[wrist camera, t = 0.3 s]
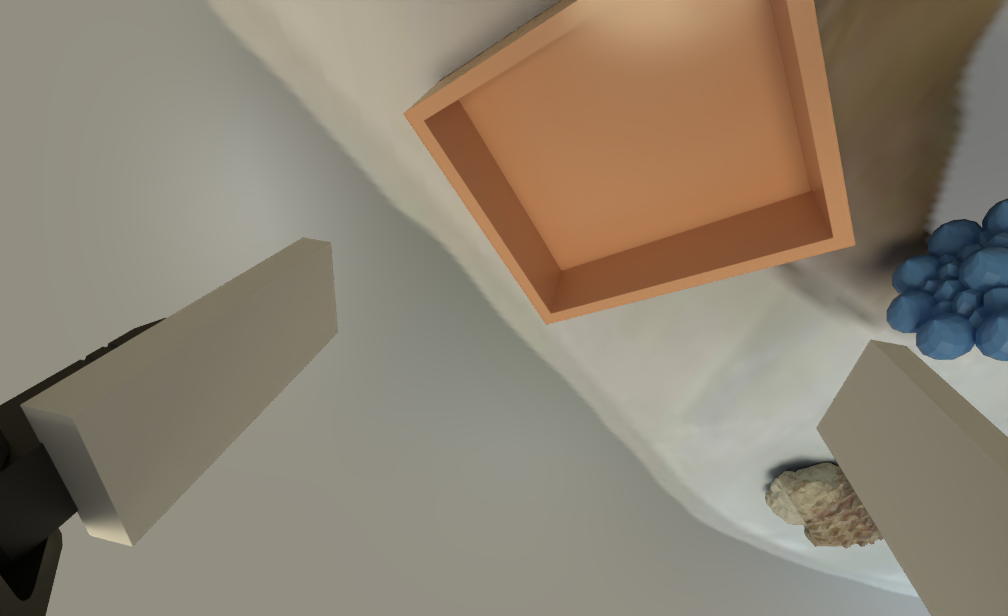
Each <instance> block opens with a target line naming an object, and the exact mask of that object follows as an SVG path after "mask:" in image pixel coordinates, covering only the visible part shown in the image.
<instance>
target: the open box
mask: <svg viewBox="0 0 1008 616" xmlns="http://www.w3.org/2000/svg"><path fill="white" fill-rule="evenodd" d="M404 116H405V117H406V119H407V120H408V122H409V123H410V125H411V126H412V127H413V129H414V130H415V132H416V133H417V135H418V136H419V138H420V139H421V141H422V142H423V144H424V145H425V147H426V148H427V150H428V151H429V153H430V154H431V156H432V157H433V158H434V160H435V161H436V163H437V164H438V166H439V167H440V169H441V170H442V172H443V173H444V175H445V176H446V178H447V179H448V181H449V182H450V184H451V185H452V187H453V188H454V189H455V191H456V192H457V194H458V195H459V197H460V198H461V200H462V201H463V203H464V204H465V206H466V207H467V209H468V210H469V212H470V213H471V215H472V216H473V217H474V219H475V220H476V222H477V223H478V225H479V226H480V228H481V229H482V231H483V232H484V234H485V235H486V237H487V238H488V240H489V241H490V243H491V244H492V246H493V247H494V248H495V250H496V251H497V253H498V254H499V256H500V257H501V259H502V260H503V262H504V263H505V265H506V266H507V268H508V269H509V271H510V272H511V274H512V275H513V277H514V278H515V279H516V281H517V282H518V284H519V285H520V287H521V288H522V290H523V291H524V293H525V294H526V296H527V297H528V299H529V300H530V302H531V303H532V305H533V306H534V307H535V309H536V310H537V312H538V313H539V315H540V316H541V318H542V319H543V321H544V322H545V324H550V323H554V322H558V321H562V320H566V319H570V318H574V317H578V316H582V315H585V314H589V313H593V312H597V311H601V310H605V309H609V308H613V307H617V306H620V305H624V304H628V303H632V302H636V301H640V300H644V299H648V298H652V297H655V296H659V295H663V294H667V293H671V292H675V291H679V290H683V289H687V288H690V287H694V286H698V285H702V284H706V283H710V282H714V281H718V280H722V279H725V278H729V277H733V276H737V275H741V274H745V273H749V272H753V271H757V270H761V269H764V268H768V267H772V266H776V265H780V264H784V263H788V262H792V261H796V260H799V259H803V258H807V257H811V256H815V255H819V254H823V253H827V252H831V251H834V250H838V249H842V248H846V247H850V246H854V245H855V241H854V235H853V229H852V223H851V217H850V211H849V206H848V200H847V194H846V188H845V182H844V176H843V170H842V164H841V158H840V153H839V147H838V141H837V135H836V129H835V123H834V117H833V111H832V105H831V100H830V94H829V88H828V82H827V76H826V70H825V64H824V58H823V52H822V47H821V41H820V35H819V29H818V23H817V17H816V11H815V5H814V0H560V1H559V2H557V3H556V4H554V5H553V6H551V7H550V8H548V9H547V10H545V11H544V12H542V13H541V14H539V15H538V16H536V17H535V18H533V19H532V20H530V21H529V22H527V23H526V24H524V25H523V26H521V27H520V28H518V29H517V30H515V31H514V32H512V33H511V34H509V35H508V36H506V37H505V38H503V39H502V40H500V41H499V42H497V43H496V44H494V45H493V46H491V47H490V48H488V49H487V50H485V51H484V52H482V53H481V54H479V55H478V56H476V57H475V58H473V59H472V60H470V61H469V62H467V63H466V64H464V65H463V66H461V67H460V68H458V69H457V70H455V71H454V72H452V73H451V74H449V75H448V76H446V77H445V78H443V79H442V80H440V81H439V82H438V83H437V84H436V85H435V86H434V87H432V88H431V89H430V90H429V91H428V92H427V93H426V94H425V95H424V96H423V97H421V98H420V99H419V100H418V101H417V102H416V103H415V104H414V105H413V106H411V107H410V108H409V109H408V110H407V111H406V112H405V113H404Z"/></svg>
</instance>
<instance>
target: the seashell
mask: <svg viewBox="0 0 1008 616" xmlns="http://www.w3.org/2000/svg"><path fill="white" fill-rule="evenodd" d="M778 477H779V478H775V480H774V481H773V482H772V483H771V486H770V490H768V492H767V493H766V495H765V499H766V503H767V504H768V506H769V507H770V508H772V510H773V512H774V513H775V514H776V515H778V516H779V517H781V518H782V519H783V520H784V521H786V522H787V523H788V524H793V525H804V527H805V530H804V533H805V535H806V537H807V538H808V539H809V540H810V541H811V542H812V543H813V544H814V546H815V547H816V546H843V547H845V548H848V547H850V546H851V545H853V544H859V545H860V546H861V547H862V546H865V544H866V545H867V544H868V542H869V543H870V544H874V541H876V540H877V539H880V540H882V539H883V536H882V535H881V533H880V531H879V530H878V528H877V526H876V525H875V523H874V522H873V520H872V518H871V517H870V515H869V513H868V512H867V510H866V509H865V507H864V505H863V504H862V502H861V500H860V499H859V497H858V495H857V494H856V492H855V491H854V489H853V487H852V486H851V484H850V482H849V481H848V479H847V478H846V476H845V474H844V473H843V471H842V469H841V468H840V466H836V465H833V464H832V463H821V464H818V465H813V466H810V467H808V468H804V469H799V470H797V472H796V473H795V472H792V471H785V472H783V474H782V475H779V476H778Z"/></svg>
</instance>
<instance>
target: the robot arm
mask: <svg viewBox="0 0 1008 616" xmlns="http://www.w3.org/2000/svg"><path fill="white" fill-rule="evenodd" d="M337 333H338V327H337V314H336V301H335V288H334V275H333V262H332V249H331V242H326V241H320V240H314V239H309V238H301V239H300V240H298V241H296V242H295V243H293V244H291V245H290V246H288V247H286V248H284V249H283V250H281V251H279V252H278V253H276V254H274V255H273V256H271V257H269V258H268V259H266V260H264V261H263V262H261V263H259V264H257V265H256V266H254V267H252V268H251V269H249V270H247V271H246V272H244V273H242V274H240V275H239V276H237V277H235V278H234V279H232V280H231V281H229V282H227V283H225V284H224V285H222V286H220V287H219V288H217V289H215V290H214V291H212V292H210V293H208V294H207V295H205V296H203V297H202V298H200V299H198V300H197V301H195V302H193V303H191V304H190V305H188V306H186V307H185V308H183V309H182V310H180V311H178V312H176V313H175V314H173V315H171V316H170V317H168V318H163V319H161V320H158V321H155V322H152V323H149V324H146V325H143V326H140V327H137V328H134V329H133V330H131V331H129V332H127V333H126V334H124V335H122V336H121V337H119V338H117V339H115V340H114V341H112V342H110V343H108V346H107V347H101V348H100V349H98V350H96V351H94V352H93V353H91V354H89V355H87V356H86V359H85V360H79V361H77V362H75V363H73V364H72V365H70V366H68V367H67V368H65V369H63V370H61V371H60V372H58V373H56V374H54V375H53V376H51V377H49V378H47V379H46V380H44V381H42V382H40V383H38V384H37V385H35V386H33V387H31V388H30V389H28V390H26V391H24V392H23V393H21V394H19V395H17V396H16V397H14V398H13V399H10V400H9V401H7V402H5V403H4V404H2V405H0V616H45V615H46V611H47V607H48V603H49V599H50V595H51V591H52V586H53V582H54V578H55V574H56V570H57V566H58V562H59V558H60V553H61V549H62V533H61V532H60V530H59V527H60V526H61V525H62V524H63V523H64V522H66V521H67V520H68V519H69V518H70V517H71V516H72V515H74V514H75V513H76V512H78V514H79V516H80V518H81V520H82V522H83V523H84V525H85V527H86V529H87V531H88V533H89V535H90V536H94V537H98V538H102V539H105V540H109V541H113V542H117V543H121V544H125V545H129V546H134V545H135V544H136V543H137V542H138V541H139V540H140V539H141V538H142V537H143V535H144V534H145V533H146V532H147V531H148V530H149V529H150V528H151V527H152V526H153V525H154V524H155V523H156V522H157V521H158V520H159V519H160V518H161V517H162V516H163V515H164V514H165V513H166V511H167V510H168V509H169V508H170V507H171V506H172V505H173V504H174V503H175V502H176V501H177V500H178V499H179V498H180V497H181V496H182V495H183V494H184V493H185V492H186V491H187V490H188V488H189V487H190V486H191V485H192V484H193V483H194V482H195V481H196V480H197V479H198V478H199V477H200V476H201V475H202V474H203V473H204V472H205V471H206V470H207V469H208V468H209V467H210V465H211V464H212V463H213V462H214V461H215V460H216V459H217V458H218V457H219V456H220V455H221V454H222V453H223V452H224V451H225V450H226V449H227V448H228V447H229V446H230V445H231V444H232V443H233V442H234V441H235V439H236V438H237V437H238V436H239V435H240V434H241V433H242V432H243V431H244V430H245V429H246V428H247V427H248V426H249V425H250V424H251V423H252V422H253V420H255V419H256V418H257V417H258V415H259V414H260V413H261V412H262V411H263V410H264V409H265V408H266V407H267V406H268V405H269V404H270V403H271V402H272V401H273V400H274V399H275V398H276V397H277V396H278V395H279V394H280V393H281V391H282V390H283V389H284V388H285V387H286V386H287V385H288V384H289V383H290V382H291V381H292V380H293V379H294V378H295V377H296V376H297V375H298V374H299V373H300V372H301V371H302V370H303V368H304V367H305V366H306V365H307V364H308V363H309V362H310V361H311V360H312V359H313V358H314V357H315V356H316V355H317V354H318V353H319V352H320V351H321V350H322V349H323V348H324V347H325V346H326V344H327V343H328V342H329V341H330V340H331V339H332V338H333V337H334V336H335V335H336V334H337ZM816 429H817V430H818V432H819V434H820V435H821V437H822V438H823V440H824V442H825V443H826V445H827V447H828V448H829V450H830V451H831V453H832V455H833V456H834V458H835V460H836V461H837V463H838V465H839V466H840V468H841V469H842V471H843V473H844V474H845V476H846V478H847V479H848V481H849V482H850V484H851V486H852V487H853V489H854V491H855V492H856V494H857V495H858V497H859V499H860V500H861V502H862V504H863V505H864V507H865V509H866V510H867V512H868V513H869V515H870V517H871V518H872V520H873V522H874V523H875V525H876V526H877V528H878V530H879V531H880V533H881V535H882V536H883V538H884V539H885V541H886V543H887V544H888V546H889V548H890V549H891V551H892V553H893V554H894V556H895V557H896V559H897V561H898V562H899V564H900V566H901V567H902V569H903V570H904V572H905V574H906V575H907V577H908V579H909V580H910V582H911V583H912V585H913V587H914V588H915V590H916V592H917V593H918V595H919V597H920V598H921V600H922V601H923V603H924V605H925V606H926V608H927V609H928V611H929V613H930V614H931V616H1008V437H1007V436H1006V435H1005V434H1004V433H1002V432H1001V431H1000V430H999V429H998V428H997V427H996V426H995V425H994V424H992V423H991V422H990V421H989V420H988V419H987V418H986V417H985V416H983V415H982V414H981V413H980V412H979V411H978V410H977V409H976V408H975V407H973V406H972V405H971V404H970V403H969V402H968V401H967V400H966V399H965V398H963V397H962V396H961V395H960V394H959V393H958V392H957V391H956V390H955V389H953V388H952V387H951V386H950V385H949V384H948V383H947V382H946V381H945V380H943V379H942V378H941V377H940V376H939V375H938V374H937V373H936V372H934V371H933V370H932V369H931V368H930V367H929V366H928V365H927V364H926V363H924V362H923V361H922V360H921V359H920V358H919V357H918V356H917V355H916V354H914V353H913V352H912V351H911V350H910V349H909V348H908V347H907V346H903V345H897V344H892V343H886V342H881V341H875V340H870V342H869V343H868V345H867V346H866V348H865V350H864V351H863V353H862V355H861V356H860V358H859V359H858V361H857V363H856V364H855V366H854V368H853V369H852V371H851V372H850V374H849V376H848V377H847V379H846V381H845V382H844V384H843V386H842V387H841V389H840V390H839V392H838V394H837V395H836V397H835V399H834V400H833V402H832V403H831V405H830V407H829V408H828V410H827V412H826V413H825V415H824V416H823V418H822V420H821V421H820V423H819V425H818V426H817V428H816Z"/></svg>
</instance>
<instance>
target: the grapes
mask: <svg viewBox="0 0 1008 616" xmlns="http://www.w3.org/2000/svg"><path fill="white" fill-rule="evenodd" d="M928 252H929V253H930V255H928V254H926V255H916V256H913V257H910V258H908V259H905V260H904V261H903V262H902V263H901V264H899V265H898V267H897V268H896V270H895V272H894V274H893V276H892V285H893V287H894V288H895V289H896V290H897V292H898V293H901V294H900V295H898V296H897V297H896V298H895V299H893V301H892V302H891V304H890V306H889V308H888V309H887V322H888V323H889V324H890V326H891V327H892V328H893V329H894V330H897V331H900V332H902V333H917V334H916V346H917V347H918V348H919V350H920V351H921V352H922V354H923V355H926V356H928V357H931V358H933V359H938V360H952V359H955V358H957V357H960V356H962V355H964V354H965V353H967V352H969V351H970V350H971V349H972V347H973V346H974V344H975V343H976V346H977V347H978V349H979V350H980V351H981V352H982V353H983V355H985V356H988V357H991V358H993V359H996V360H1001V361H1008V199H1005V200H1003V201H1000V202H998V203H996V204H995V205H994V206H993V207H992V208H991V209H989V211H988V212H987V214H986V216H985V217H984V219H983V221H982V227H981V226H980V225H979V224H978V223H977V222H974V221H970V220H966V219H962V220H953V221H950V222H948V223H945V224H943V225H941V226H940V227H939V228H937V229H936V230H935V231H934V232H933V234H932V236H931V237H930V239H929V241H928Z"/></svg>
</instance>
